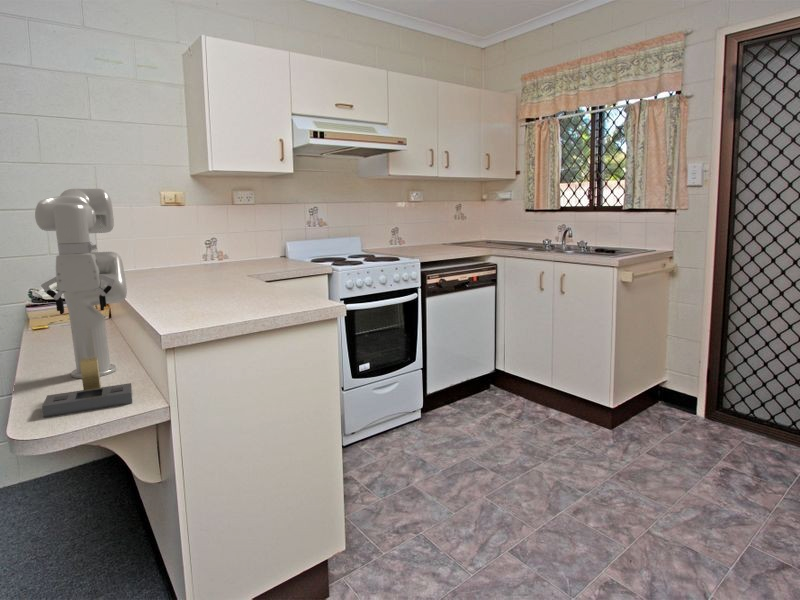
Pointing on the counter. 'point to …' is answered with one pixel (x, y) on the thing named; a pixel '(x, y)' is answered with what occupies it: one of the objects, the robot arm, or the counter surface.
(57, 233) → the robot arm
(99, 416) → the counter surface
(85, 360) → the brass peg
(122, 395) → the grey peg hole board
